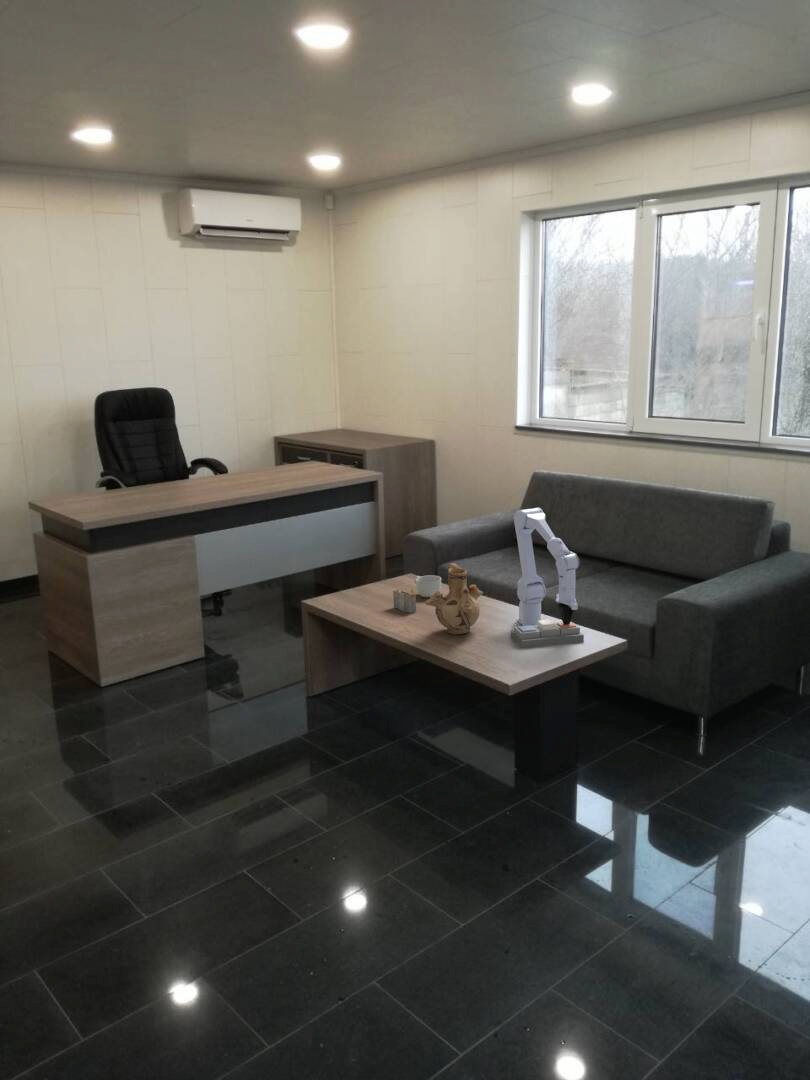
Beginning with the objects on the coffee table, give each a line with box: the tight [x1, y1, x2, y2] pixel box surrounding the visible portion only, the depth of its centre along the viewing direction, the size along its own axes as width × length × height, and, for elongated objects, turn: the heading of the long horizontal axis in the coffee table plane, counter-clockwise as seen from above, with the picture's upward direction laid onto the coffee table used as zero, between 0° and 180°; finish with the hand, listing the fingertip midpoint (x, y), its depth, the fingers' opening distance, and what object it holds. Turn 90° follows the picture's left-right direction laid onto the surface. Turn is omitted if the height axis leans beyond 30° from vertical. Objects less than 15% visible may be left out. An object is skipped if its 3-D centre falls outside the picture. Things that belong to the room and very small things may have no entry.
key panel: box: [510, 621, 585, 649], centre depth 306 cm, size 12×23×4 cm, turn 103°
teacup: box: [414, 574, 442, 598], centre depth 366 cm, size 14×11×8 cm
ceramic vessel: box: [424, 562, 484, 635], centre depth 316 cm, size 18×19×25 cm
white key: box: [538, 619, 557, 631], centre depth 306 cm, size 5×5×2 cm
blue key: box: [517, 625, 536, 632], centre depth 304 cm, size 5×5×2 cm
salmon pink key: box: [556, 621, 577, 629], centre depth 308 cm, size 5×5×2 cm
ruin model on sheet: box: [392, 588, 417, 614], centre depth 346 cm, size 11×3×10 cm, turn 39°
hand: (566, 623), depth 307 cm, fingers closed
